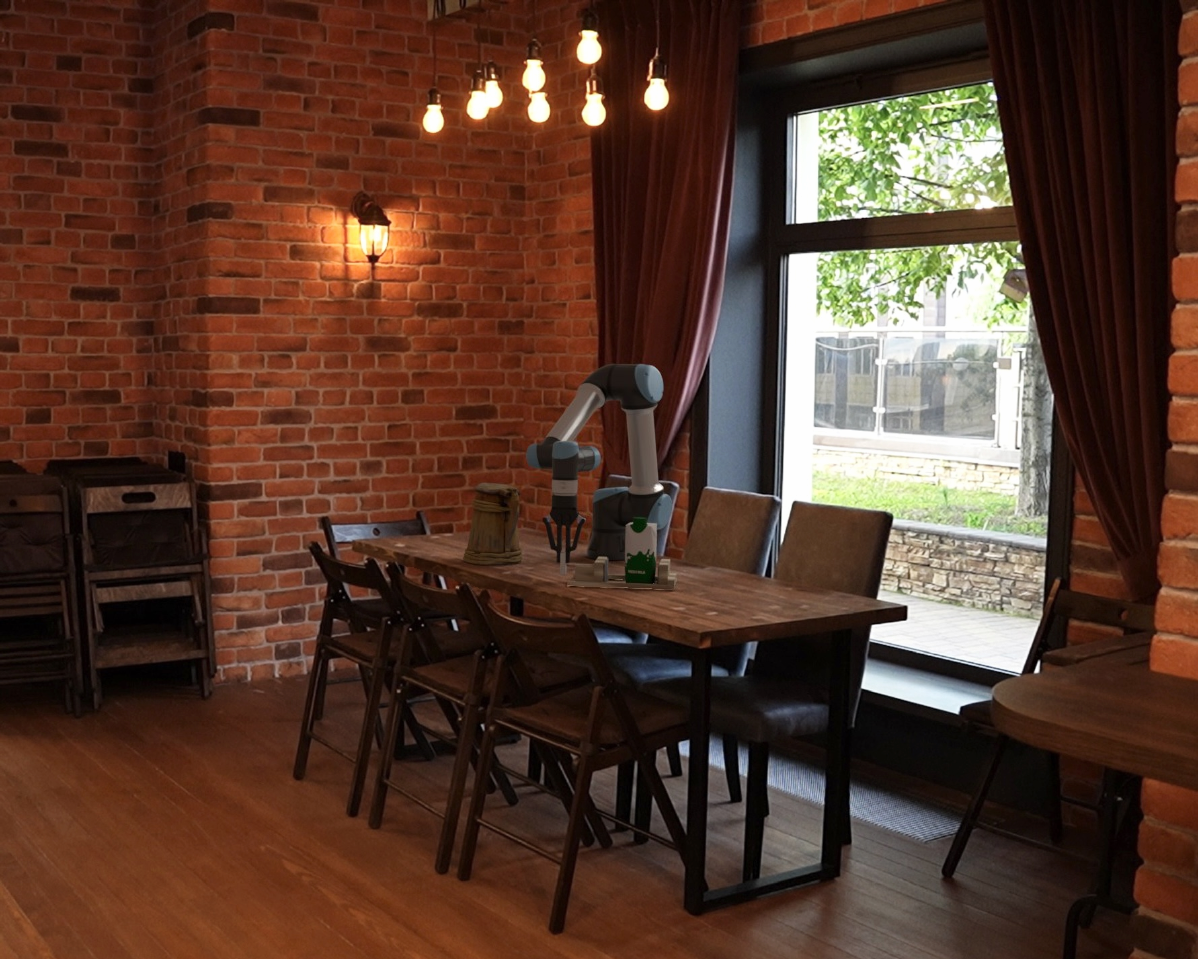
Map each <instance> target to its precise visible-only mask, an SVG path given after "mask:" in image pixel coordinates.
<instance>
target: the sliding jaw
mask: <svg viewBox="0 0 1198 959" xmlns="http://www.w3.org/2000/svg"><path fill="white" fill-rule="evenodd" d="M574 573H575V579H574V581H586V582H608V581H609V580H608V574H609V560H608V558H607V557H598V558H597V559H595V561H594V563H593V564H591V563H576V564H575V565H574Z"/></svg>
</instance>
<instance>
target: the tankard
mask: <svg viewBox="0 0 1198 959" xmlns="http://www.w3.org/2000/svg"><path fill="white" fill-rule="evenodd" d="M474 489H475V490H476V493H475V497H474V498H473V499H472V500H473V501H472V505H471V506H472V509H473V511H472V518H471V523H470V528H469V529H470V530H469V534H468V541H467V547H466V549H465V550H464V553H463V557H462V560H463V561H464V562H467V563H469V564H474V565H478V566H479V565H481V566H490V565H504V566H510V565H509V564H513V565H515V564H514V563H517V564H520V563H521V562H522V561H523V553H522V549H521V547H520V538H519V528H518V523H519V522H518V521H519V518H520V507H521V506H520V497H519V496H521V494H522V493H521V490H518V488H517V487H514V486H511V485H508V484H503V483H494V482H491V483H490V482H481V483H479V484H477V485H476V486H475V488H474ZM519 562H520V563H519Z"/></svg>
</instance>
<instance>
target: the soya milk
mask: <svg viewBox="0 0 1198 959" xmlns="http://www.w3.org/2000/svg"><path fill="white" fill-rule="evenodd" d="M657 531H658V530H657V523H647V518H646V517H633V522H632V523H629V524H627V525H626V537H625V559H624V575H625V582H624V583H640V584H653V583H654V584H655V576H656V572H657V547H658V546H657V543H658V542H657V541H658V540H657V538H658V532H657Z"/></svg>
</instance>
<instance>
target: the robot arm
mask: <svg viewBox="0 0 1198 959" xmlns="http://www.w3.org/2000/svg"><path fill="white" fill-rule="evenodd" d="M576 390H577V394H576V396H575V397H574V398H573V400H572V401H571V403H570V404H568V406H567V408H566V409H565V410H564V412H563V413H562V415H561V416H560V417H559V418H558V420H557V421H556V423H555V424H554V426H552V428H551V430H550V431H549V432H548V433H547V435H546V437H545V438H544V439H543V440H542V441H541V443H539V442H537V443H532V444H530V445H529V446H528V447H527V450H526V453H525V455H526V457H525V458H526V461H527V464H528V465H529V467H530V468H533V469H540V470H551V471H552V476H551V493H552V494H551V509H550V511H549V514H548V515H545V516H543V518H542V522H543V524H544V525H545V529H546V534H547V538H548V543H549V547H550V550H552V551H555V552H556V563H557V564H559V565H560V566H559V569H560V570H559V575H561V576H565V575H567V564H570V562H571V552H573V551H574V552H575V551H576V550H577V548H578V543H579V539H580V536H581V532H582V529H583V526H584V524H586V521H587V519H586V517H582V516H581V515H580V512H579V510H578V495H577V493H578V487H579V486H578V485H579V484H578V483H579V477H578V474H579V473H581V472H582V473H583V472H588V473H589V472H591V471H594V470H596V469H597V468H598V467H599V466H600V464H601V459H602V456H601V453H600V450H598V449H597V448H596V447H595V446H592V445H584V446H583V445H582V446H581V445H580V446H579V443H578V442H577V441H575V439H576V437H577V436H578V435H579V433H580V432H581V431H582V429H583V428H584V426H586V424H587V422H588V421H589V420H590V419H591V417H592V416H593V415H594V413H595V411H596V410H597V409H600V408H601V407H603V406H604V404H606V403H607V402H609V401H616V402H617V401H620V408H621V410H622V411H624V412H625V414H626V424H627V425H626V426H627V427H626V428H627V438H628V450H629V451H628V452H629V464H630V476H631V478H630V479H631V485H630V486H629V487H628V486H617V487H607V488H606V487H605V488H600V489H596V490H594V492H593V494H592V495H593V496H592V497H593V498H592V502H591V503H592V533H591V536H590V539H589V542H588V546H587V549H586V557H587V558H589V559H593V560H597V558H598V557H607V558H608V561H625V537H626V525H627V524H629V523H632V522H633V517H646V518H647V523H657V531H658V530H662V529H663V528H664V527H665V526H666V525H667V524H668V522H669V520H670V518H671V515H672V510H673V502H672V498H671V496H670V495H669V494H667V493H665V489H664V486H663V485H662V484H661V483H660V482H659V472H658V460H657V458H658V457H657V446H656V433H655V431H656V430H655V419H654V410H655V409H656V408H657V406H658V402H660V400H661V399H662V398H663V395H664V394H663V392H664V381H663V377H662V375H661V372H660V371H659V370H658V368H656V367H655V366H654V365H652V364H651V365H650V364H643V363H635V364H634V363H630V364H629V363H620V364H619V363H610V364H606V365H603V366H601V367H600V368H598V369H596V370H594V371H593V372H591V374H589V375H588V376H586V378H585V379H584V380H583V381H582V382H581V383H580V385H579V386H578V388H577V389H576ZM552 521H553V522H554V524H555V525H556V541H555V536H554V533H553V528H552V524H551V522H552ZM575 522H576V523H577V527H576V530H575V533H574V536H573V537H574V538H573V541H571V540H572V538H571V536H572V525H573V523H575ZM563 527H565V549H564V551H563ZM571 542H572V543H571Z"/></svg>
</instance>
